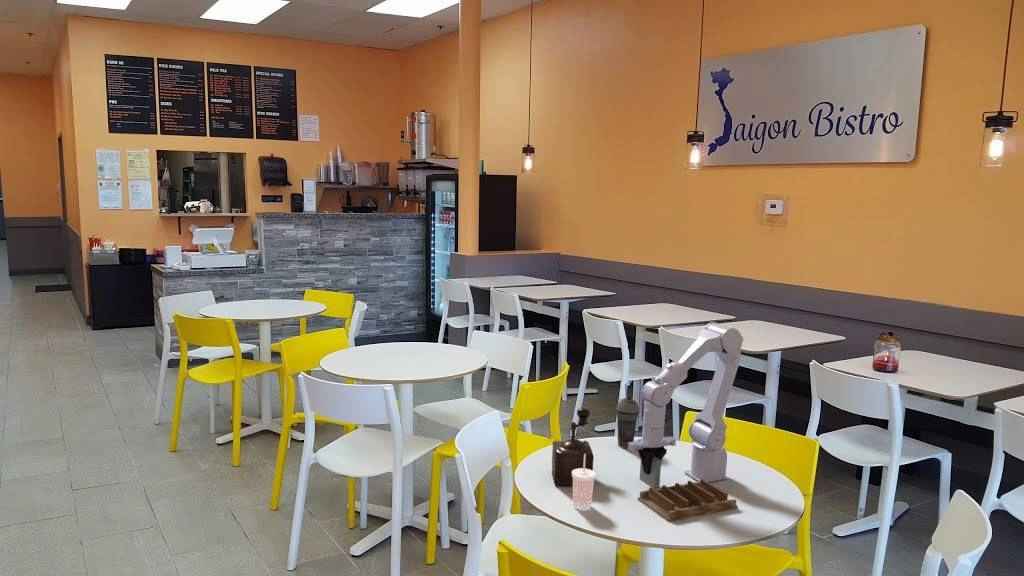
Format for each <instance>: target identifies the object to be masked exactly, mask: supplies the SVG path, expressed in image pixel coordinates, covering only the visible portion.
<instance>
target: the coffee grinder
mask: <svg viewBox="0 0 1024 576" xmlns="http://www.w3.org/2000/svg"><path fill="white" fill-rule="evenodd" d="M576 415H577V417H578V418H579V420H578V422H577V423H576V422H575V421H572V422H571V424H570V426H569V429H570V430H571V437H570V439H566V440H558V441H557V440H555V441H552V449H551V451H552V452H551V453H552V454H551V455H552V456H551V477H553V478H552V481H553V480H554V481H553V483H554V486H555V487H559V488H573V477H572V471H573V470H574V469H578V468H583V463H584V454H586V460H585V469H590V470H592V471H594V454H593V453H594V452H593V450H592V448H591V445H590V442H589V441H586V440H580V439H578V438H577V439H576V430H577V428H579V427H584V426H585V425H589V422H588V419H589V417H590V416H591V411H590V410H589V409H588V408H586V407H580V408H579V409H577V410H576Z"/></svg>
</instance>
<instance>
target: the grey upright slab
mask: <svg viewBox="0 0 1024 576" xmlns="http://www.w3.org/2000/svg"><path fill="white" fill-rule="evenodd" d="M639 467H640V469H639V480H640V481H641V482H643V483H644V484H645V485H647V486H648V487H649V488H651V487H652V488H653V489H658V488H660V482H661V470H662V460H660V459H658V458H656V457H655V456H653V459H652V464H651V472H650V474H649V475H647V474H646V473H644V470H643V465H642V461H641V460H640V466H639Z"/></svg>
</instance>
